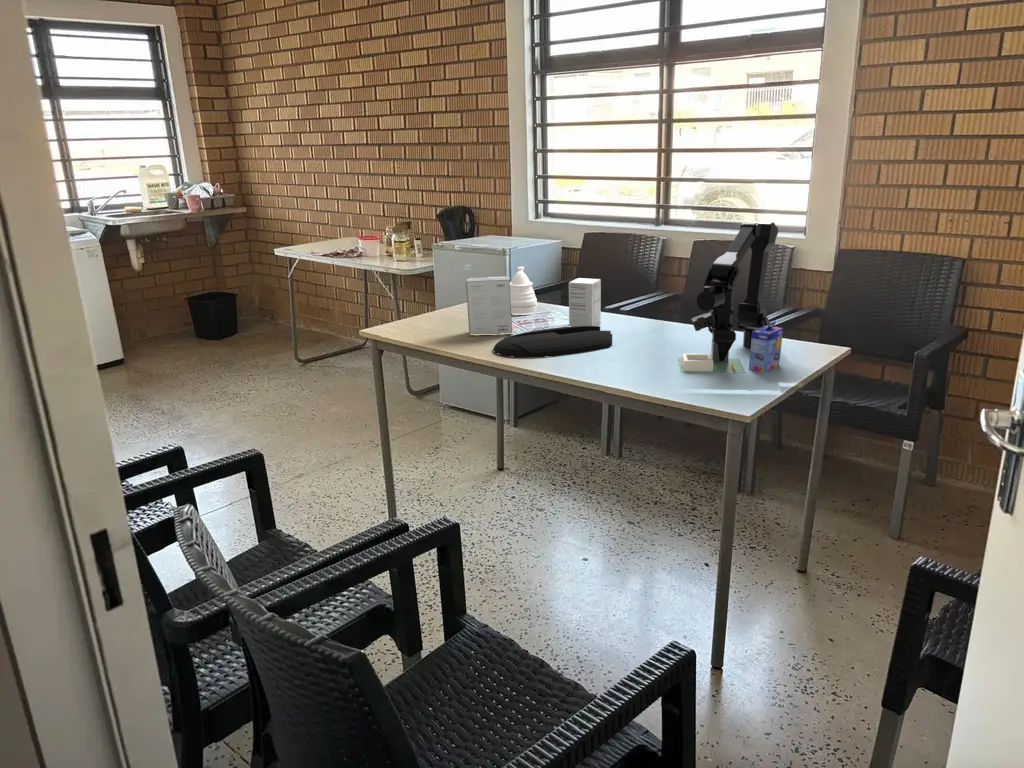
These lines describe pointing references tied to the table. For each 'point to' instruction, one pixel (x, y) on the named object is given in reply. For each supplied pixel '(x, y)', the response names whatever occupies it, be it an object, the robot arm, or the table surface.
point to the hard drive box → (489, 305)
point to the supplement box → (584, 302)
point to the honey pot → (522, 294)
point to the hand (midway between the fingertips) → (719, 357)
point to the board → (721, 367)
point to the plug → (715, 354)
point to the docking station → (555, 342)
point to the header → (697, 362)
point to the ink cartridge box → (765, 348)
